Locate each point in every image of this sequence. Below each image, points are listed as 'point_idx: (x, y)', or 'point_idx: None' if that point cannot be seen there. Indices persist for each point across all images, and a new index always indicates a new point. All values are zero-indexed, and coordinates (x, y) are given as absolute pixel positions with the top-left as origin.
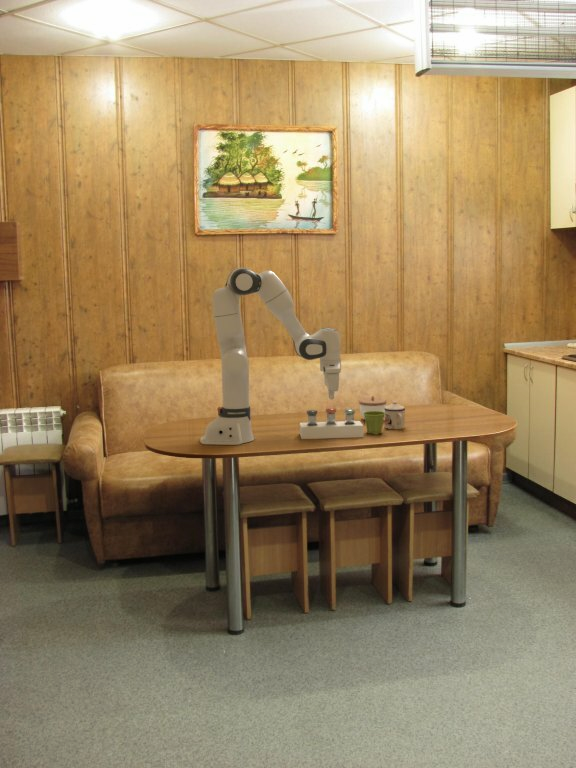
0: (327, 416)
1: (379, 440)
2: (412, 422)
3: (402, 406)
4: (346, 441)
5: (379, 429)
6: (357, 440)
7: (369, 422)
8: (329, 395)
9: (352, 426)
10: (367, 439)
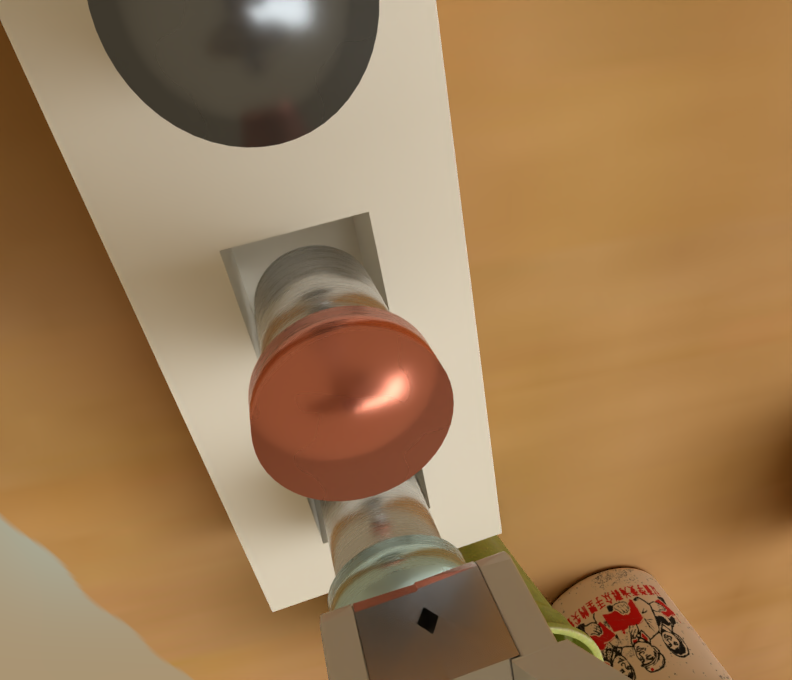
0: (281, 310)
1: (162, 641)
2: (716, 648)
3: None
4: (34, 437)
5: None
6: (115, 511)
7: None
8: (415, 668)
9: (237, 531)
10: (180, 567)
